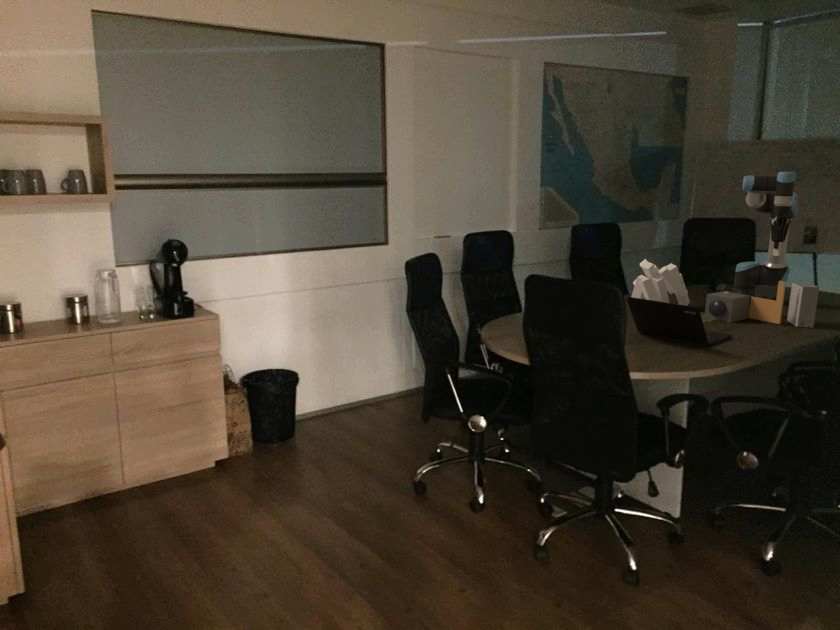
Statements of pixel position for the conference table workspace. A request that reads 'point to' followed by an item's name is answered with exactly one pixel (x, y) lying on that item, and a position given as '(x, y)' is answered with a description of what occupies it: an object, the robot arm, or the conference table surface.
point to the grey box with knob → (727, 306)
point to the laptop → (672, 321)
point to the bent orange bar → (768, 306)
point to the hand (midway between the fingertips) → (776, 255)
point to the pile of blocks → (660, 284)
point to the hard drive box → (803, 304)
